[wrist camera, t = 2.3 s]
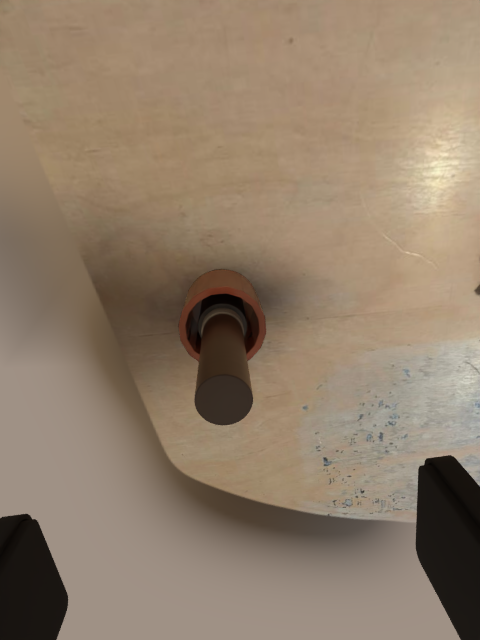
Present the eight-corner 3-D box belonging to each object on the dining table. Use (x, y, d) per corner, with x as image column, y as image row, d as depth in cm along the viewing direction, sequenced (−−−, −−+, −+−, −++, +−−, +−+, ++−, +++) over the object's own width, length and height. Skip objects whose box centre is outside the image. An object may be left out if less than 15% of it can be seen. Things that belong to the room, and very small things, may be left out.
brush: (203, 328, 33) (191, 436, 19) (198, 288, 32) (180, 371, 18) (245, 324, 33) (263, 428, 19) (241, 283, 32) (258, 363, 18)
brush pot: (191, 341, 34) (185, 372, 28) (181, 272, 32) (173, 291, 26) (260, 334, 34) (268, 363, 28) (255, 265, 32) (262, 283, 26)
